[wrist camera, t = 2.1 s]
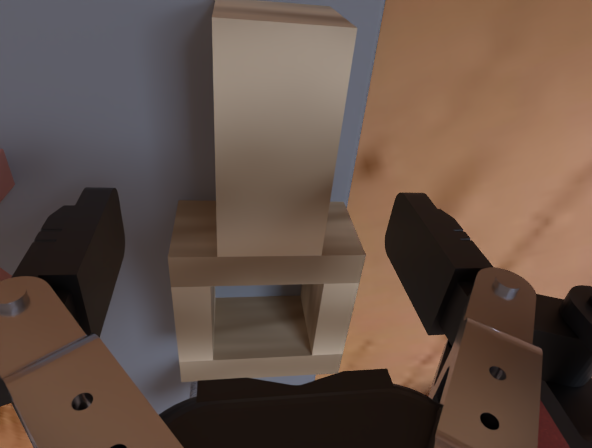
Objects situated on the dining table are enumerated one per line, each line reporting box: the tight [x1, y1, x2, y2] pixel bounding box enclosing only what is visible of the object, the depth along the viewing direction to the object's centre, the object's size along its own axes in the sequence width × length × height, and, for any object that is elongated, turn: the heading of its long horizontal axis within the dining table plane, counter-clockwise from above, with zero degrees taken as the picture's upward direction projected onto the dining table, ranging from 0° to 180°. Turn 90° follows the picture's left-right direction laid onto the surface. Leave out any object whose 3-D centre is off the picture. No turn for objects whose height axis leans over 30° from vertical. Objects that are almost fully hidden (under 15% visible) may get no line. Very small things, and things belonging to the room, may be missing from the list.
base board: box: [0, 0, 385, 415], centre depth 21 cm, size 17×28×1 cm, turn 175°
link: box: [168, 0, 366, 382], centre depth 18 cm, size 16×8×4 cm, turn 175°
